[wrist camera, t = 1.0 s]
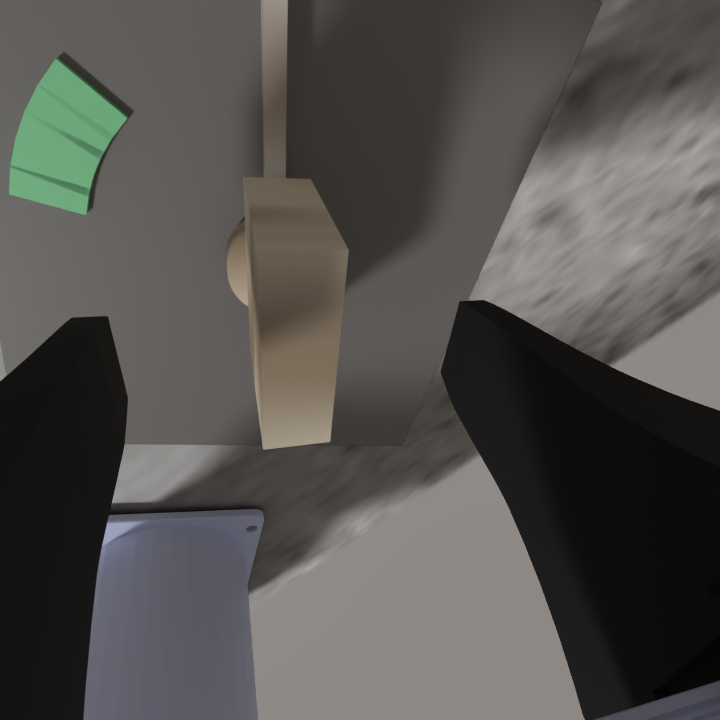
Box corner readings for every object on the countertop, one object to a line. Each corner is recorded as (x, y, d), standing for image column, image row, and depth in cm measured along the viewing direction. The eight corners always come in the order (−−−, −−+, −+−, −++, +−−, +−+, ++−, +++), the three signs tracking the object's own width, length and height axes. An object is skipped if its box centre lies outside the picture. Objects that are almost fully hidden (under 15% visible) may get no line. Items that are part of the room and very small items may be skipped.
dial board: (394, 429, 22) (403, 449, 21) (25, 422, 17) (15, 448, 16) (578, 0, 13) (607, 2, 12) (-78, -287, 8) (-114, -321, 7)
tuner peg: (314, 326, 16) (349, 439, 12) (230, 331, 15) (241, 452, 11) (334, -29, 10) (411, -30, 6) (205, -46, 10) (208, -60, 6)
